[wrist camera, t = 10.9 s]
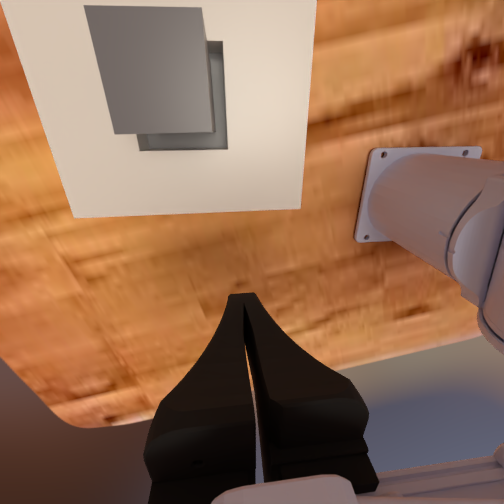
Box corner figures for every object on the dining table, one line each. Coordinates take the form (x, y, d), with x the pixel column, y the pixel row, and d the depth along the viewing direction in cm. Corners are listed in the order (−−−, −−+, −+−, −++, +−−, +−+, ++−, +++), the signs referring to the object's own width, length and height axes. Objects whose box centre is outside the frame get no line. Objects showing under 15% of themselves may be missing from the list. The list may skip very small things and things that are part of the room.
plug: (210, 63, 16) (201, 7, 9) (216, 131, 18) (212, 131, 11) (146, 63, 16) (83, 4, 8) (158, 133, 17) (114, 134, 10)
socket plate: (306, -34, 15) (321, -64, 12) (292, 200, 21) (300, 208, 19) (13, -50, 13) (-30, -87, 11) (91, 208, 19) (74, 218, 17)
